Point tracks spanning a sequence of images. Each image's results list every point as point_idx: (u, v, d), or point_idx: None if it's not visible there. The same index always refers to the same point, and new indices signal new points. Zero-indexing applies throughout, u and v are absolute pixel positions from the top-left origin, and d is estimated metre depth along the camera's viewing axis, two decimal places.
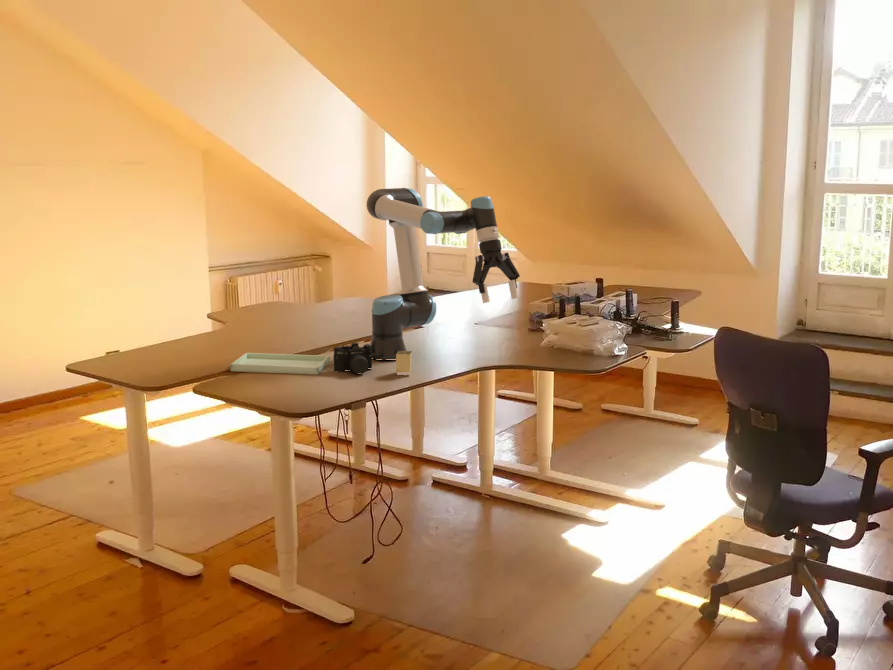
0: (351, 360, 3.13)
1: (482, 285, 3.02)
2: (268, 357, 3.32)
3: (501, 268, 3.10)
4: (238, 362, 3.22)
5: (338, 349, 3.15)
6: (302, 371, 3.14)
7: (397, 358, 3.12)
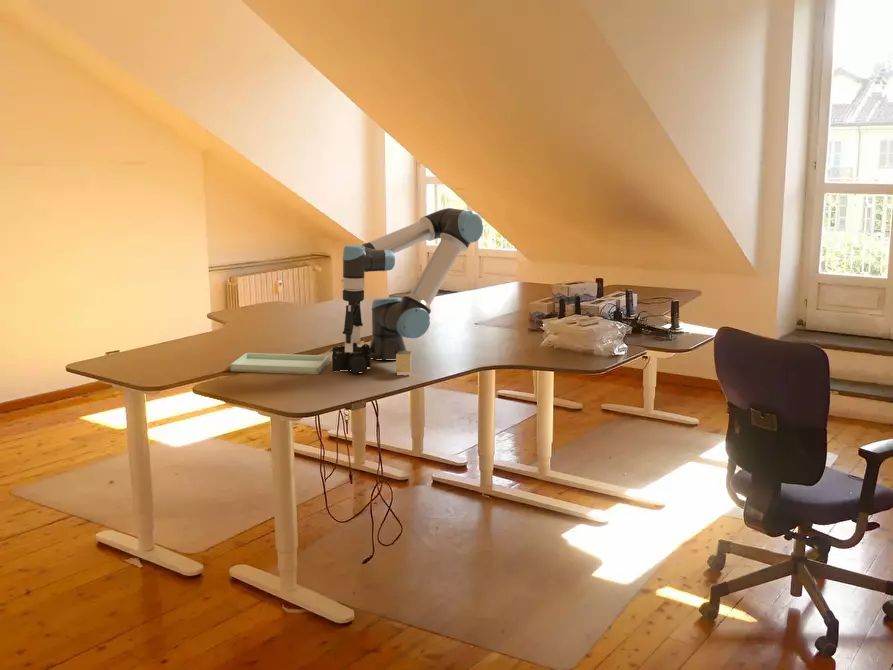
0: (350, 360, 3.14)
1: None
2: (268, 357, 3.32)
3: None
4: (238, 362, 3.22)
5: (337, 349, 3.16)
6: (302, 371, 3.14)
7: (397, 358, 3.12)
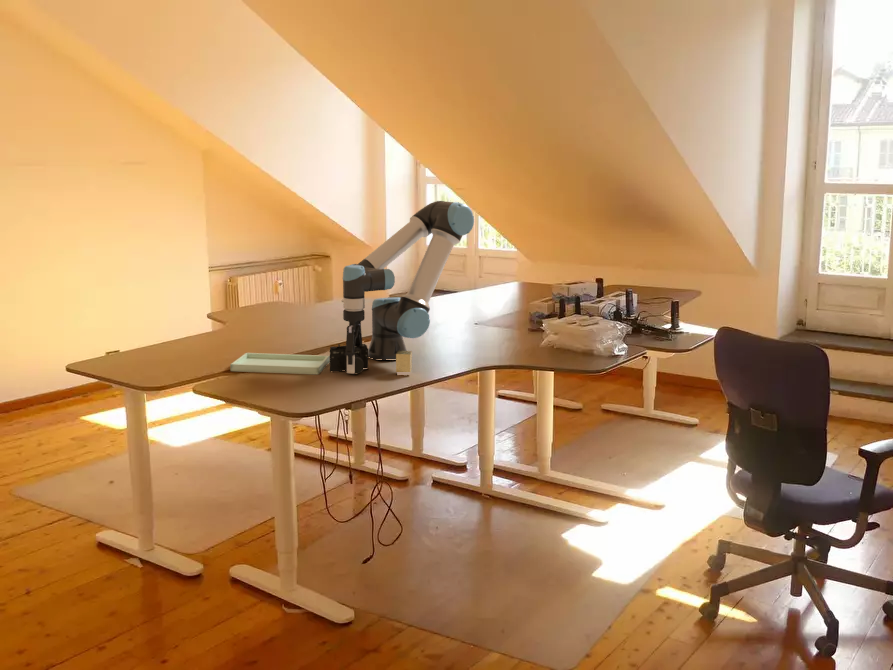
0: None
1: None
2: (268, 357, 3.32)
3: None
4: (238, 362, 3.22)
5: (334, 349, 3.15)
6: (302, 371, 3.14)
7: (397, 358, 3.12)
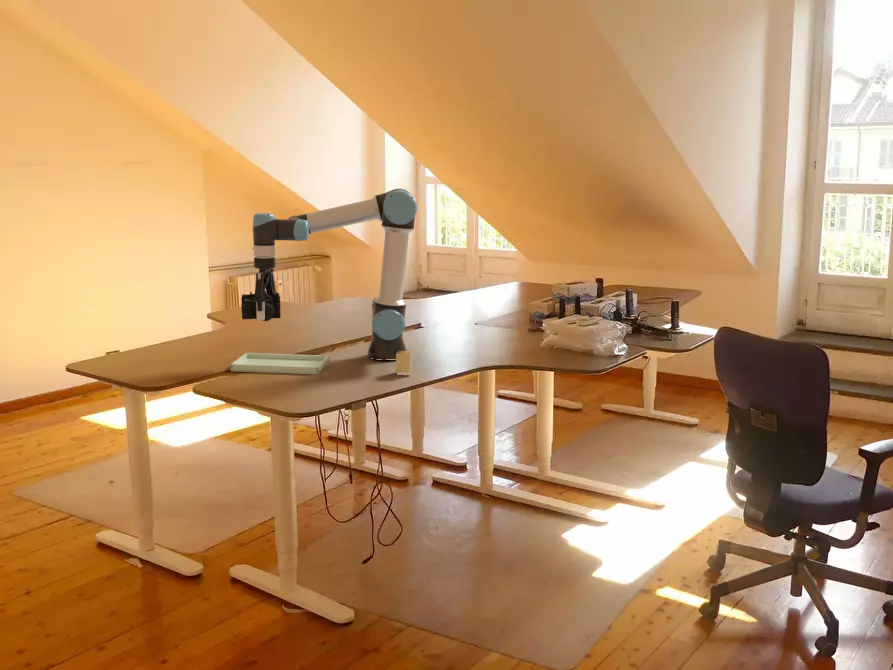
0: None
1: None
2: (268, 357, 3.32)
3: None
4: (238, 362, 3.22)
5: (245, 296, 3.18)
6: (302, 371, 3.14)
7: (397, 358, 3.12)
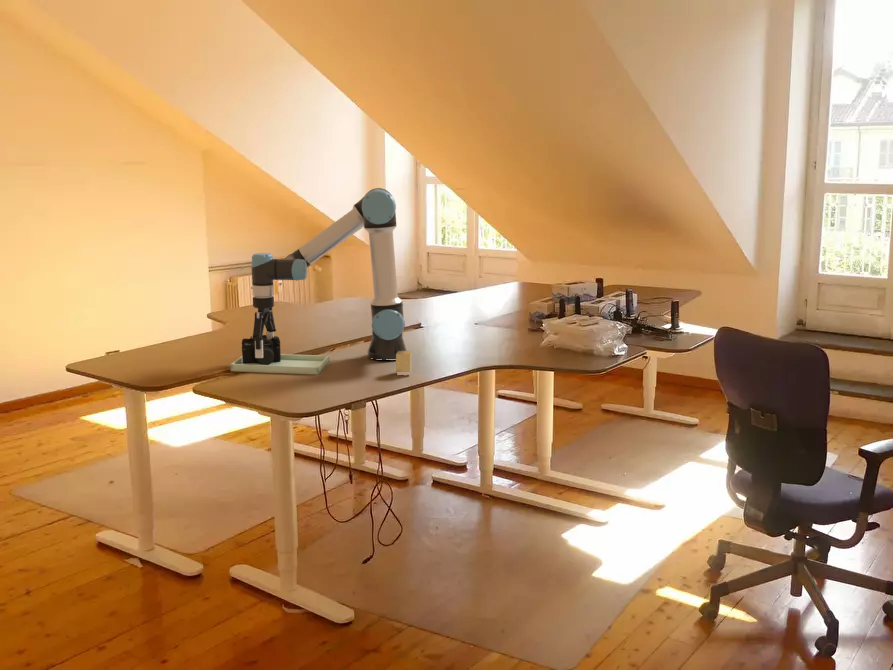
0: None
1: None
2: None
3: None
4: (238, 362, 3.22)
5: (246, 341, 3.22)
6: (302, 371, 3.14)
7: (397, 358, 3.12)
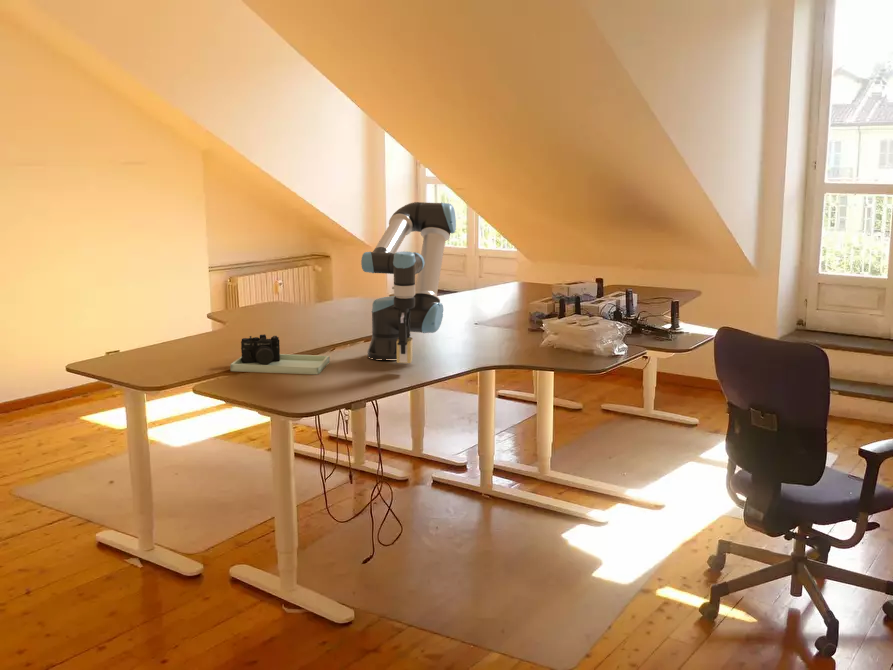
0: (256, 351, 3.20)
1: None
2: None
3: None
4: (238, 362, 3.22)
5: (245, 340, 3.23)
6: (302, 371, 3.14)
7: (397, 345, 3.11)
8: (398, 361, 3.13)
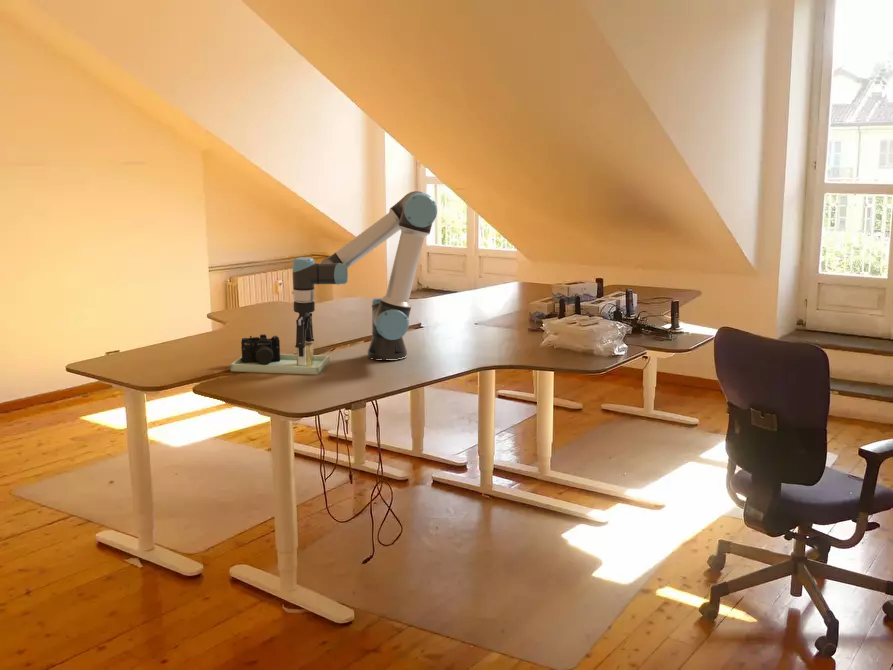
0: (256, 351, 3.21)
1: None
2: None
3: None
4: (238, 362, 3.22)
5: (245, 340, 3.23)
6: (302, 371, 3.14)
7: (297, 349, 3.19)
8: (298, 365, 3.20)
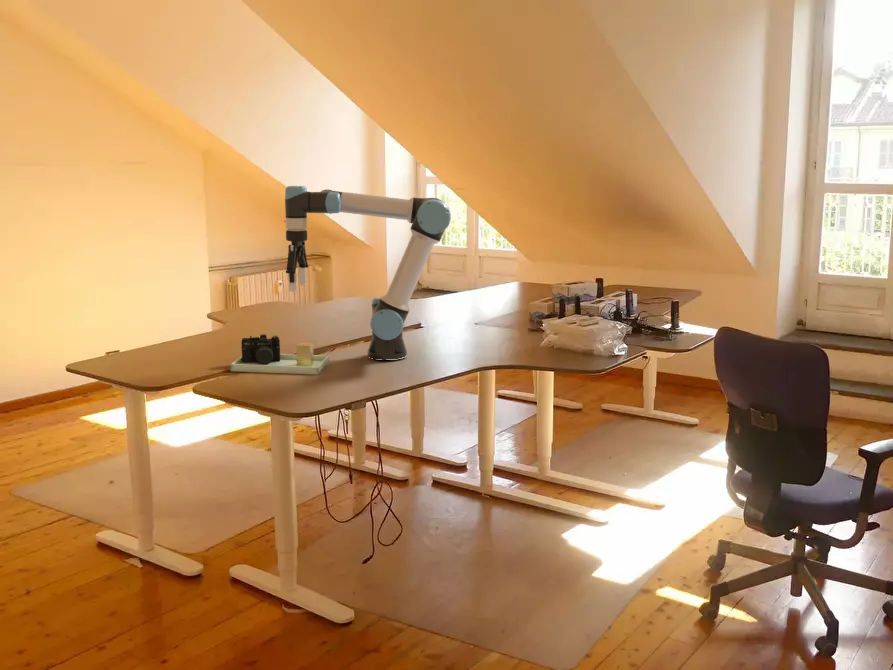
0: (256, 351, 3.21)
1: None
2: None
3: None
4: (238, 362, 3.22)
5: (245, 340, 3.23)
6: (302, 371, 3.14)
7: (297, 349, 3.19)
8: (298, 365, 3.20)
